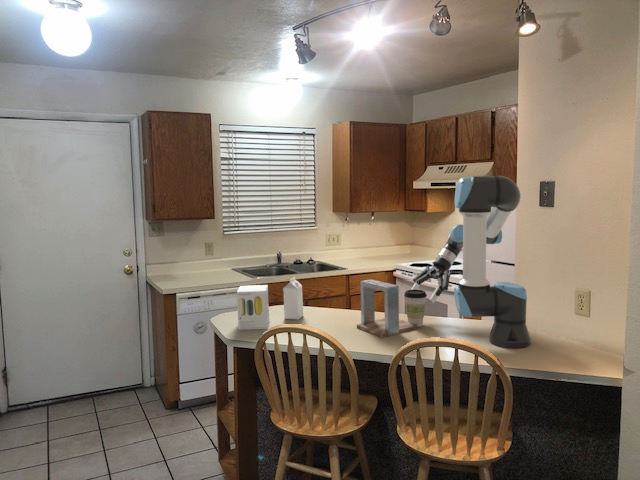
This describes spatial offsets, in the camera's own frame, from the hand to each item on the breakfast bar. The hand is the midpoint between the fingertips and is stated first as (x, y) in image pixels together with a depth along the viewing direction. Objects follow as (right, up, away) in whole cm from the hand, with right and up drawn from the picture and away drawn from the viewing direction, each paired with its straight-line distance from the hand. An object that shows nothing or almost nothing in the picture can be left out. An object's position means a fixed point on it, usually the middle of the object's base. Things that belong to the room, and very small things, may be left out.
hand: (420, 298), depth 227 cm
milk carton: (-58, -11, +16) cm, 61 cm away
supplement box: (-75, -13, +5) cm, 76 cm away
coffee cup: (-3, -12, -2) cm, 12 cm away
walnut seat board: (-16, -12, -6) cm, 21 cm away
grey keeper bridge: (-19, -13, -8) cm, 24 cm away
